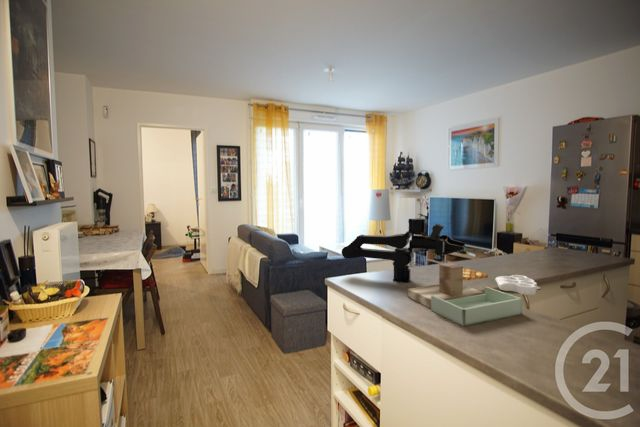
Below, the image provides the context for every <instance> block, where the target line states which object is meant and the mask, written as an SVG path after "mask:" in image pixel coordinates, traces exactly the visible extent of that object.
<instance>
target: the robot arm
mask: <svg viewBox="0 0 640 427" xmlns="http://www.w3.org/2000/svg"><path fill="white" fill-rule="evenodd" d="M444 227H445V226H444V225H442V224H440V223H435V224H433V225H432V227H431V229H432V230H431V234H429V235H427V236H425V235H423V233H425V232H426V218H422V217H421V218H420V217H419V218H418V217H417V218H408V231H406V232H405V233H396V234H391V235H369V234H368V235H367V234H360V235H358V236H356V238H355V239H354V240H353V241H351V242H350V243H349V244H348V245H347V246H344V247H343V248H342V250H341V256H342V257H343V258H344V259H346V260H348V259H349V260H350V259H358V258H365V259H376V260H378V259H379V260H387V261H392V266H393V278H392V281H394V282H404V283H408V282H409V281H410V280H411V276H412V275H411V269H410V265H409V264H410V263H411V262H412V261H413V260H414V257H415V254H414V251H415V250H424V251H425V252H429V251H432V252H433V251H434V254H436V256H438V257H443V256H447V255H449V254H452V253H458V252H460V251H463V250H465V248H464V247H465V245H466V243H465V242H462V241H459V240H456V239H453V238H452V237H451V236H450V235H449V234H447V233H446V234H445V233H443V234H441V233H442V231H443V229H444ZM410 238H411V239H410ZM408 244H409V246H408ZM363 245H381V246H389V247H392V248H395V249H394V250H387V249H375V248H366V247H365V248H364V247H362V246H363ZM407 246H408V247H407Z"/></svg>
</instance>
